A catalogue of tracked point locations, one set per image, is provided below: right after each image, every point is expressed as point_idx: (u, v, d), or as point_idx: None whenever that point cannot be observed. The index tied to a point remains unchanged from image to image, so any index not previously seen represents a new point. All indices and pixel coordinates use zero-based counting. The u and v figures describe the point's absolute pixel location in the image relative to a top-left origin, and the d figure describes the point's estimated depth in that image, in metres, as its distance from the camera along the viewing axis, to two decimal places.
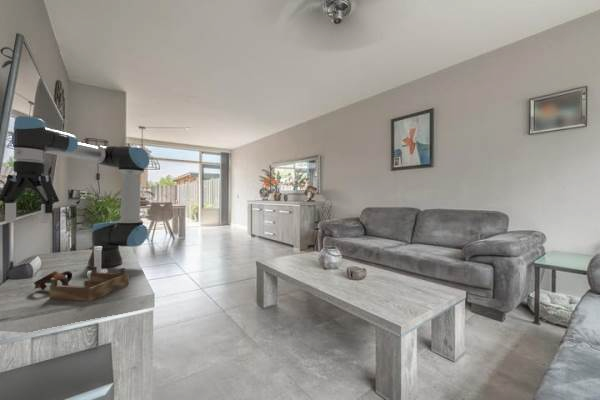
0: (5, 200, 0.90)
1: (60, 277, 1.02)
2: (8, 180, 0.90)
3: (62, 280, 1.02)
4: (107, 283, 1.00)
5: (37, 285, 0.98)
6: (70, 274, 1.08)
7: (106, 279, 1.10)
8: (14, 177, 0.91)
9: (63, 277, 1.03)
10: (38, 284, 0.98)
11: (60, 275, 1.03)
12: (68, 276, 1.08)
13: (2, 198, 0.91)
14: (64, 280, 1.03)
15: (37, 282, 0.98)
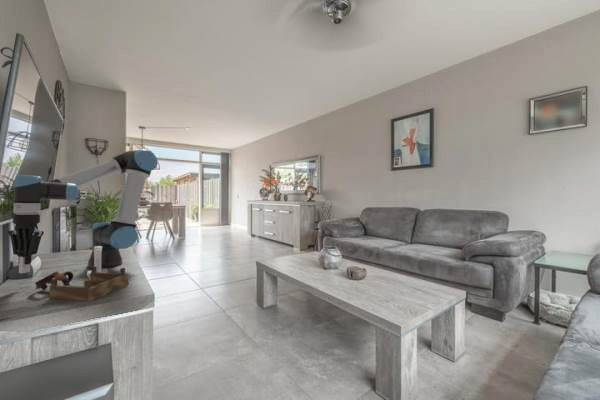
0: (19, 253, 1.03)
1: (61, 277, 1.02)
2: (11, 235, 1.03)
3: (63, 280, 1.02)
4: (107, 283, 1.00)
5: (38, 285, 0.98)
6: (71, 274, 1.08)
7: (106, 279, 1.10)
8: (14, 230, 1.04)
9: (64, 277, 1.03)
10: (39, 284, 0.98)
11: (61, 275, 1.03)
12: (69, 276, 1.08)
13: (16, 251, 1.03)
14: (65, 280, 1.03)
15: (38, 282, 0.98)
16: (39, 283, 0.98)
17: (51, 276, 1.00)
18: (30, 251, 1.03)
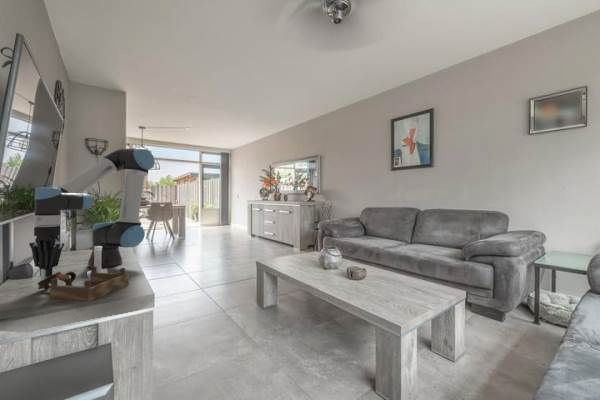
0: (40, 266, 1.03)
1: (64, 277, 1.01)
2: (32, 247, 1.03)
3: (66, 280, 1.02)
4: (107, 283, 1.00)
5: (41, 286, 0.97)
6: (74, 274, 1.08)
7: (106, 279, 1.10)
8: (35, 242, 1.04)
9: (67, 277, 1.03)
10: (42, 285, 0.97)
11: (64, 275, 1.02)
12: (72, 276, 1.07)
13: (37, 263, 1.03)
14: (68, 280, 1.02)
15: (41, 283, 0.97)
16: (42, 283, 0.97)
17: (54, 276, 0.99)
18: (51, 263, 1.02)
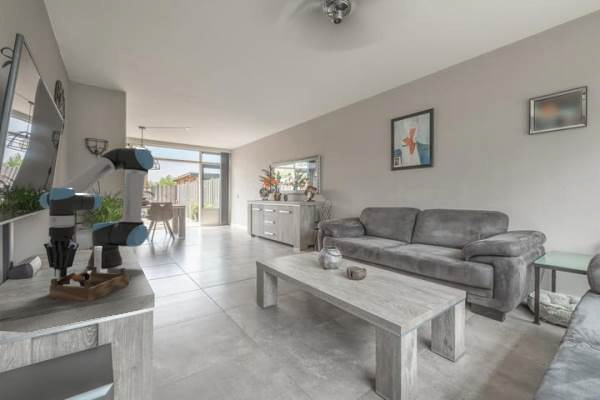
0: (55, 266, 1.02)
1: (78, 278, 1.01)
2: (47, 248, 1.02)
3: (80, 281, 1.01)
4: (107, 283, 1.00)
5: None
6: (88, 275, 1.07)
7: (106, 279, 1.10)
8: (49, 243, 1.03)
9: (81, 278, 1.02)
10: None
11: (78, 276, 1.02)
12: (86, 277, 1.07)
13: (52, 264, 1.02)
14: (82, 281, 1.02)
15: None
16: (57, 284, 0.97)
17: (69, 277, 0.99)
18: (66, 264, 1.02)
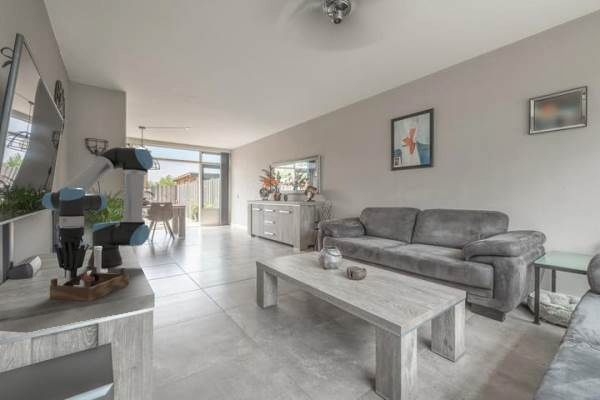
0: (65, 267, 1.02)
1: (88, 279, 1.00)
2: (57, 249, 1.02)
3: None
4: (107, 283, 1.00)
5: None
6: (98, 276, 1.07)
7: (106, 279, 1.10)
8: (59, 243, 1.03)
9: (91, 279, 1.02)
10: None
11: (88, 277, 1.01)
12: (96, 278, 1.06)
13: (62, 264, 1.02)
14: (92, 282, 1.01)
15: (66, 284, 0.97)
16: (67, 285, 0.97)
17: (79, 278, 0.99)
18: (76, 265, 1.02)
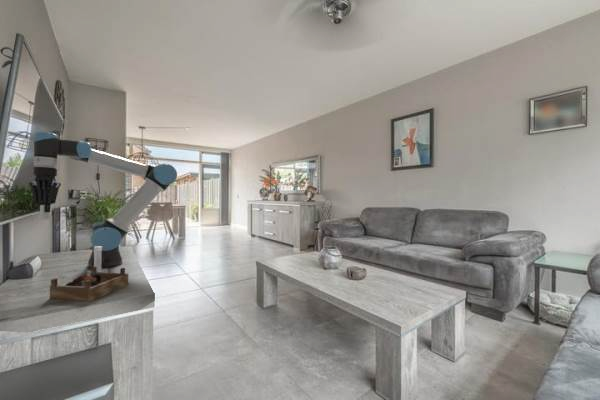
0: (39, 202, 1.16)
1: None
2: (32, 186, 1.16)
3: (92, 283, 1.00)
4: (107, 283, 1.00)
5: None
6: (99, 276, 1.06)
7: (106, 279, 1.10)
8: (34, 182, 1.17)
9: (93, 280, 1.01)
10: None
11: (90, 278, 1.01)
12: (97, 278, 1.06)
13: (37, 200, 1.16)
14: (94, 283, 1.01)
15: (68, 285, 0.96)
16: None
17: (81, 278, 0.98)
18: (49, 200, 1.15)
